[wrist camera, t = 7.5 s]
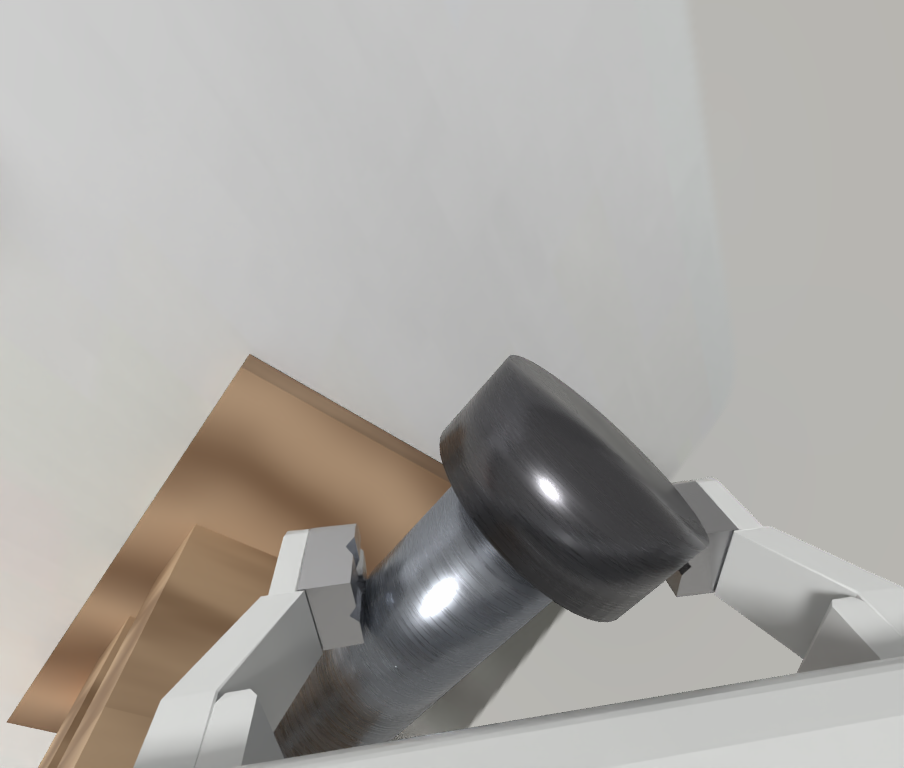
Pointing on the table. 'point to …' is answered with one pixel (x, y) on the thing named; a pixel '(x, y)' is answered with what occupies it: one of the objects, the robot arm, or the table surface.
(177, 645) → the threaded rod press
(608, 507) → the shaft
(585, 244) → the table surface
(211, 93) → the table surface
